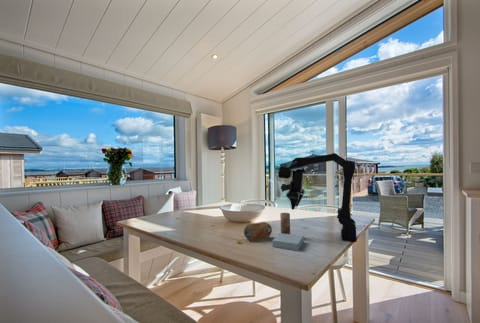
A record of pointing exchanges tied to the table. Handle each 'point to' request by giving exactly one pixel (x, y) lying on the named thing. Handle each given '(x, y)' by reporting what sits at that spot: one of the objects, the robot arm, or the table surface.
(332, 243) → the table surface
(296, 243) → the slate plinth
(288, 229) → the walnut column
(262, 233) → the tin
